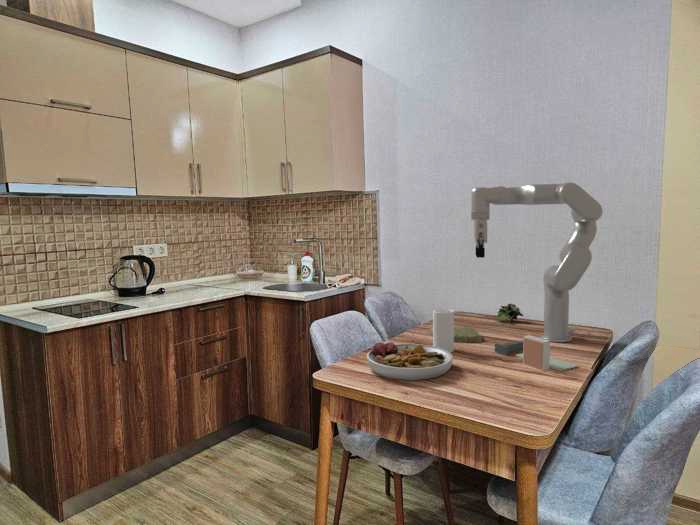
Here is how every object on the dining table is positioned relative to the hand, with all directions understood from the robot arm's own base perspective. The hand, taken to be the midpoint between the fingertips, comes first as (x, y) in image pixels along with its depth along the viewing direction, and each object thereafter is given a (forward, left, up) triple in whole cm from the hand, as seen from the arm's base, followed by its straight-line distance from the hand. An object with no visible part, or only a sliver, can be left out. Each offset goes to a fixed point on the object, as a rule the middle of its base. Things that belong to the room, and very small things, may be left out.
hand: (479, 256), depth 197 cm
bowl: (+49, +19, -37) cm, 64 cm away
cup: (+25, +7, -36) cm, 44 cm away
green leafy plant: (-34, -17, -36) cm, 53 cm away
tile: (+9, +39, -36) cm, 54 cm away
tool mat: (+2, +37, -36) cm, 52 cm away
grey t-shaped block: (+1, +22, -36) cm, 42 cm away
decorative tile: (+8, -7, -37) cm, 38 cm away
